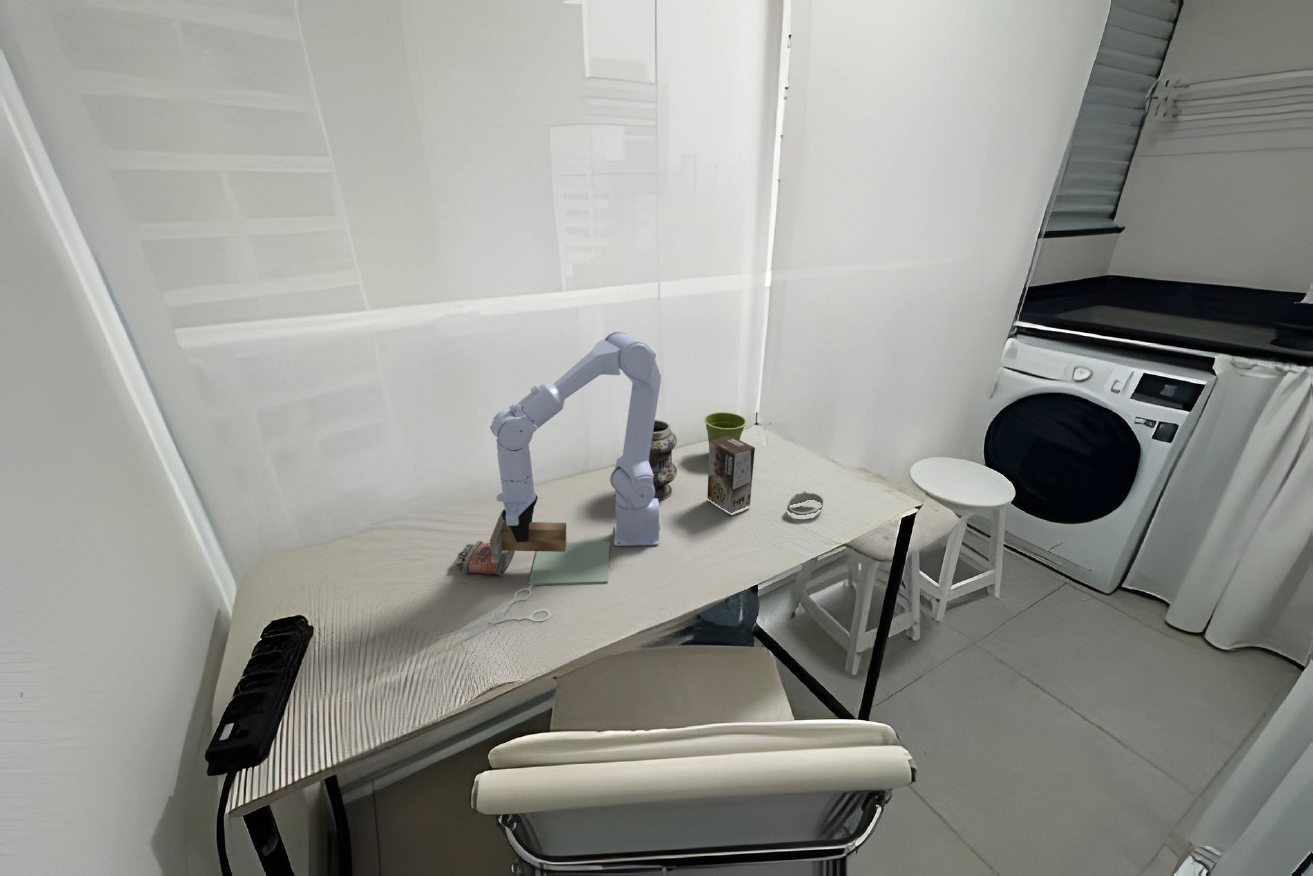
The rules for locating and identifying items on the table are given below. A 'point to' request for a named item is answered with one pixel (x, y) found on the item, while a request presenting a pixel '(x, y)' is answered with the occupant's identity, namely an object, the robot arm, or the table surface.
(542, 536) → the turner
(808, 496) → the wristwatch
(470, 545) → the lighter
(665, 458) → the apothecary jar
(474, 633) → the scissors
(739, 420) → the plant pot
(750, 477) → the coffee box
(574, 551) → the tool mat
